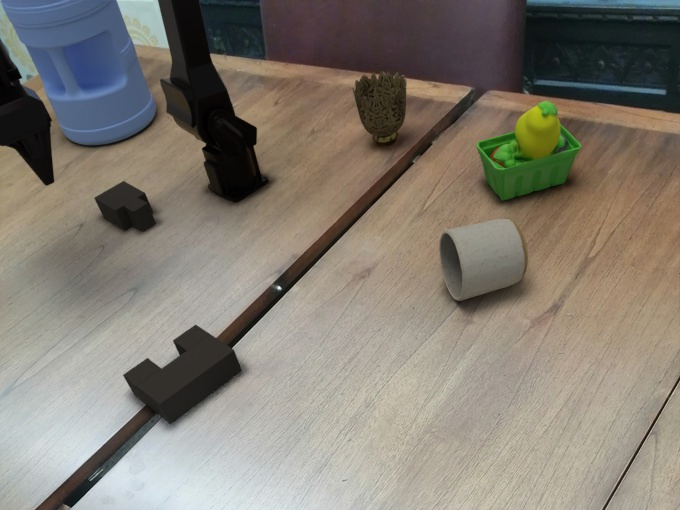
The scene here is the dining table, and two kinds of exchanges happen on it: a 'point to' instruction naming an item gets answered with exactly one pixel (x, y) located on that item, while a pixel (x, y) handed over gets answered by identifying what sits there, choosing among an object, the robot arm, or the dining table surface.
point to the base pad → (184, 374)
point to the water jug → (85, 66)
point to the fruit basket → (529, 154)
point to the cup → (381, 105)
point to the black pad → (126, 207)
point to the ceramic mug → (482, 257)
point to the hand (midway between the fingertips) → (39, 167)
